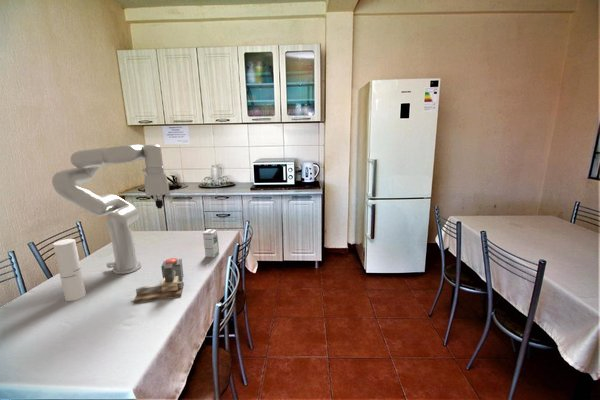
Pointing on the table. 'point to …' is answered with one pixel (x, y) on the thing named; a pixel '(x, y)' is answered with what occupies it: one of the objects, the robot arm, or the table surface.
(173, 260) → the button
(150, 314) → the table surface
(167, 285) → the carriage
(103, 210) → the robot arm
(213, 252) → the syrup box
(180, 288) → the slide rail
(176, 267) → the gauge cabinet
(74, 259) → the cylindrical container
